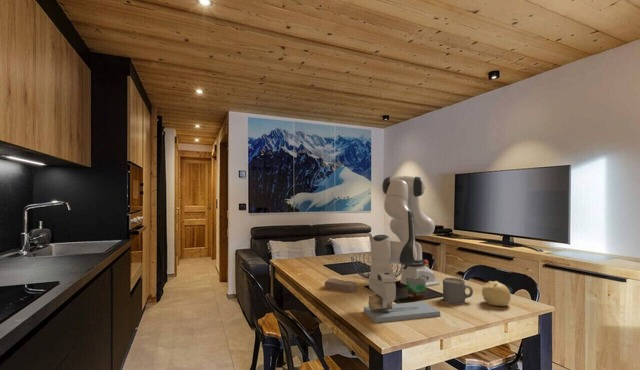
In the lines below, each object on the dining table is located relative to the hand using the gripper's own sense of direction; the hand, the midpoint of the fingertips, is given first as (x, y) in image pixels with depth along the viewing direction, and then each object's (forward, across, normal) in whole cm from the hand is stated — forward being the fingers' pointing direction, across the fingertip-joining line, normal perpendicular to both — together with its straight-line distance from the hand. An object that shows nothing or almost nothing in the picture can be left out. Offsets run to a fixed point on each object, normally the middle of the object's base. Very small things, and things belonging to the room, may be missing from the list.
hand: (381, 305), depth 137 cm
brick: (+5, -41, -5) cm, 42 cm away
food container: (+5, -18, +29) cm, 34 cm away
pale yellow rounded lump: (+5, 0, +59) cm, 59 cm away
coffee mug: (+5, -8, +44) cm, 45 cm away
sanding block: (+1, 0, 0) cm, 1 cm away
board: (+4, 0, +10) cm, 11 cm away
